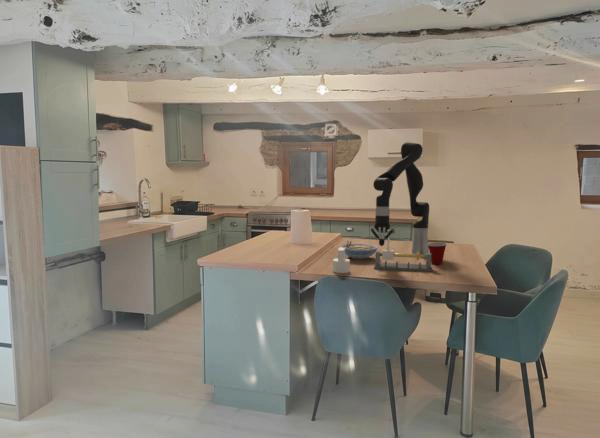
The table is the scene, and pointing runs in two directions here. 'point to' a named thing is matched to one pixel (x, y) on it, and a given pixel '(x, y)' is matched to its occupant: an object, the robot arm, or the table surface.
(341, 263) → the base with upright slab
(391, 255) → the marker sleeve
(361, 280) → the table surface
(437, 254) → the plastic cup
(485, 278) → the table surface
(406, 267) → the cable comb fixture
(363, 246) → the ramen bowl
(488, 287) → the table surface
